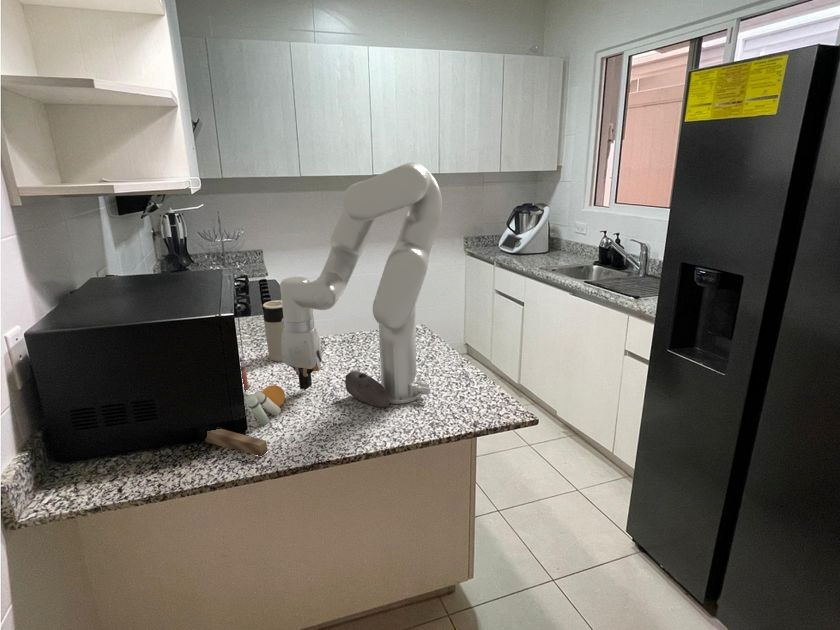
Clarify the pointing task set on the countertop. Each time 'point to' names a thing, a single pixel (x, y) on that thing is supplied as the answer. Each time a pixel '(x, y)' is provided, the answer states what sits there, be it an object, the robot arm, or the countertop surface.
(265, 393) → the ball
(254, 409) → the sage pin
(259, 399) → the ivory pin
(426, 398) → the countertop surface
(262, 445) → the wall
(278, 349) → the travel mug
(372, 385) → the perforated stone tool
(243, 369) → the lighter
